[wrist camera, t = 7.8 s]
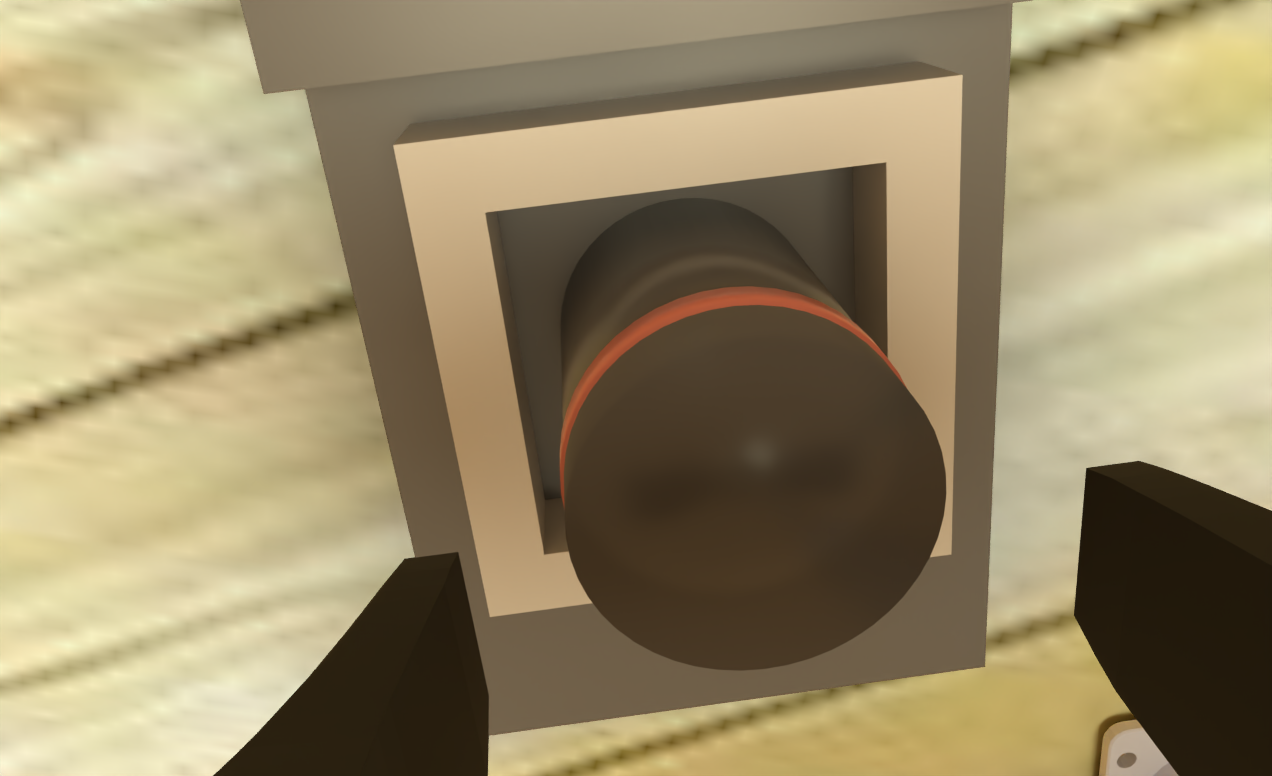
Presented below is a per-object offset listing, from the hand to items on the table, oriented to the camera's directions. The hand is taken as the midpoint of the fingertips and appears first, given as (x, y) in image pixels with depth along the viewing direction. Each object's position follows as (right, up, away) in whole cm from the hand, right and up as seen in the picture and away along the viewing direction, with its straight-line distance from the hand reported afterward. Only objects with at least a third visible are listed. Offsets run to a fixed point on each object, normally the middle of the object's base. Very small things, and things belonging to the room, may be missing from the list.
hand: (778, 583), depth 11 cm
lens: (-1, +3, +7) cm, 8 cm away
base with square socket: (-1, +4, +9) cm, 10 cm away
